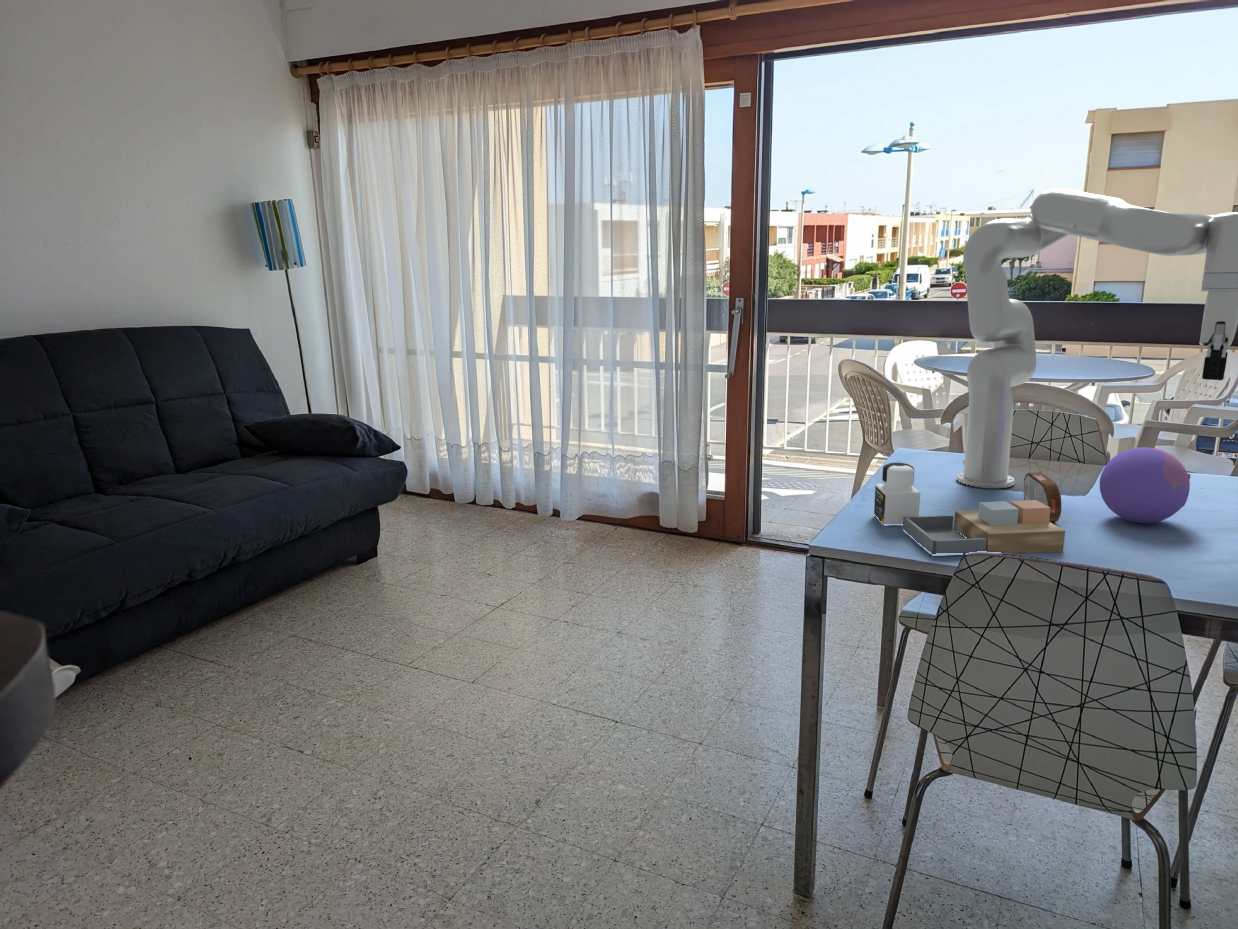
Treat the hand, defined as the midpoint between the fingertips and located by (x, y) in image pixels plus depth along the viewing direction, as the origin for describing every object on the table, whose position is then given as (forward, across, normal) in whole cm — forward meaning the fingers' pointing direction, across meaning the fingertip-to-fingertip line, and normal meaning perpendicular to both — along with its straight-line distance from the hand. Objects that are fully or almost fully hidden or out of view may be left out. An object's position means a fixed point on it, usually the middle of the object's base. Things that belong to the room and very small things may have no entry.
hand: (1213, 376), depth 153 cm
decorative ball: (+30, +2, -9) cm, 31 cm away
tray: (+29, +36, -37) cm, 59 cm away
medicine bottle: (+30, +27, -49) cm, 63 cm away
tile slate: (+25, +29, -29) cm, 49 cm away
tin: (+30, +8, -26) cm, 40 cm away
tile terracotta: (+25, +26, -25) cm, 44 cm away
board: (+29, +28, -28) cm, 49 cm away
